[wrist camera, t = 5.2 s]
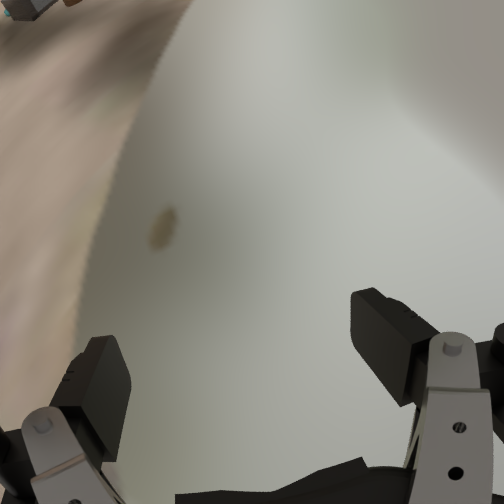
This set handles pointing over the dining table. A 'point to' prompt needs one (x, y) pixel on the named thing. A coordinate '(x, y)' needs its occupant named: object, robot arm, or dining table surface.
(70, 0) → the walnut dowel
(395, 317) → the robot arm
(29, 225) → the dining table surface
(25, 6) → the metal channel
